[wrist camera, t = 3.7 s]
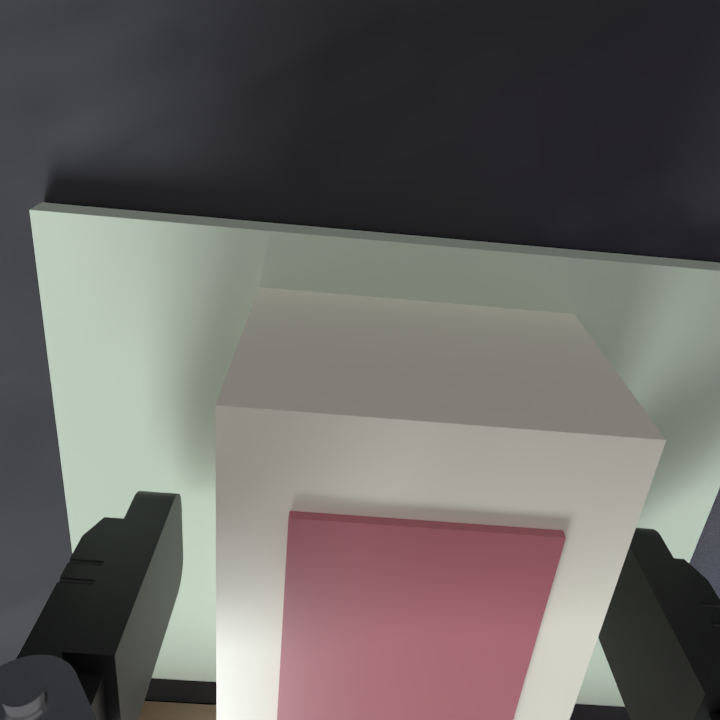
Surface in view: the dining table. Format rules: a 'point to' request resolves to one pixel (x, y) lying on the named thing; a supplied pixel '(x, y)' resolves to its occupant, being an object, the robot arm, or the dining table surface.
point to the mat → (339, 276)
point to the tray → (177, 711)
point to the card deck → (418, 509)
